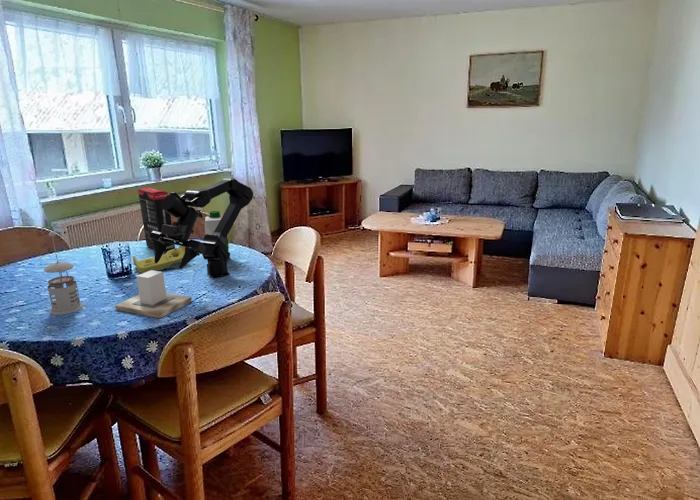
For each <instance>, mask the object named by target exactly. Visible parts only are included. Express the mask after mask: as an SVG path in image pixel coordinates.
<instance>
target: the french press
mask: <svg viewBox="0 0 700 500" xmlns="http://www.w3.org/2000/svg"><path fill="white" fill-rule="evenodd" d="M47 236H48V237H51V238H52V243H53V248H54V254H55V258H56V262H52V263H49V264H48V265H47V266H46V267H44V268H43V271H44V272H45V273H49V274H53V273H59V276H57V277H53V278H51V279H49V280H48V281H47V283H48V285H47V291H48V295H49V296H48V297H49V299H50V305H51V308H50V309H49V311H48V314H51V315H55V316H56V315H57V316H59V315H67V314H71V313H75V312H77V311H79V310H82V309H83V308H84V307H85V304H84V303H83V302H81V300H80V299H81V298H80V294H79V288H78V285H77V281H76V280H75V276H72V275H69V274H68V271H70V270H72V269H73V268H74V264H73V263H71V262H67V261H59V260H58V255H57V250H56V245H55V242H54V241H55V240H54V237H56V236H57V234H56V232H54V231H50V232H49V233H48V235H47ZM65 272H66V275H63V274H62V273H65ZM64 285H66V286H64ZM52 296H53V297H52Z"/></svg>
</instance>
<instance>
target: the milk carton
mask: <svg viewBox="0 0 700 500" xmlns="http://www.w3.org/2000/svg"><path fill="white" fill-rule="evenodd" d="M222 216H223V215H221V214H220V211H219V210H213V211H209V216H205V217H204V218H205V219H204V233H205V234H204V236H205V235H206V234H212V233H213V232H214V231H215V229H216V227H217V225H218V224H219V222H220V220H221V218H222ZM229 246H230V245H229V234H228V235H227V237H226V248H225V249H226V250H227V251H228V252H229ZM228 260H229V259H228ZM228 260H227V262H229V261H228Z"/></svg>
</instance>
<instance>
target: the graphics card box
mask: <svg viewBox="0 0 700 500" xmlns="http://www.w3.org/2000/svg"><path fill="white" fill-rule="evenodd" d="M137 192H138V199H139V205H140V213H141V218H142V224H143V230H144V236H145V237H144V238H145V244H146V245H145V246H147V247H149V248H150V249H153V250H155V246H154V243H153V242H152V241H151V239H150V238H148V237H149V234H150V233H151V232H152V231H156V232H161V231H162V226H163V224H165V225H172V224H173V221H172V215H171V214H169V213H168V212H166V211H165V210H163V209H162V208H161V202H162V200H164V198H165V197H167V196H168V195H169V194H168V191H166V190H161V189H157V188H153V187H143V188H142V187H141V188H137ZM164 235H165V236H167V234H164ZM167 237H169V238H170V236H167ZM173 242H175V241H173ZM165 246H166V249H165V251H164V253H167V252H168V251H169V250H172V249H174V248H176V245H175V244H170V243H167V244H166V245H165Z"/></svg>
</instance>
